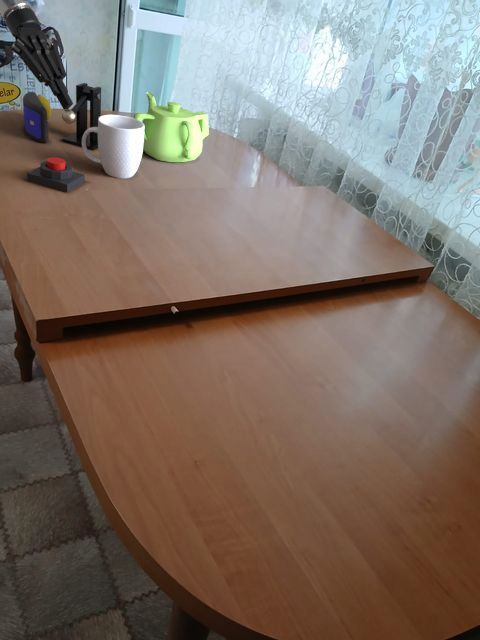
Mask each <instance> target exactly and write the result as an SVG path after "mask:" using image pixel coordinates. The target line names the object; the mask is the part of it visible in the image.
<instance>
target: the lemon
mask: <svg viewBox="0 0 480 640" xmlns="http://www.w3.org/2000/svg"><path fill="white" fill-rule="evenodd" d="M37 96H38V98H39V99H40V101H41V102H42V104H43V105H44V107H45V108H46V111H47V121H48V120H49V119H50V117H51V115H52V107H51V104H50V101H49V100H48V99H47V98H46V97H45V96H44V95H42V94H40V93H39V94H37Z"/></svg>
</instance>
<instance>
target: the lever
mask: <svg viewBox="0 0 480 640" xmlns="http://www.w3.org/2000/svg"><path fill="white" fill-rule="evenodd" d="M92 88H95V87H93V86H90V85H88V86H86V87H85V88H84V89H83V90H82V95H83V96H82V97H81V99H80V100H79V101H78V102H77V103H76V102H75V105H74V106H73V107H72V108H71V109H65V110H63V112H62V114H61V119H62V120H63V122H64V123H65V124H68V125H72V124H74V123H76V113H77V112H78V110H79V109H80V108H81V107H82V106H83V104H84V103H85V102H86V101H87V100H88V102H90V89H92Z"/></svg>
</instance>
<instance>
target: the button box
mask: <svg viewBox="0 0 480 640" xmlns="http://www.w3.org/2000/svg"><path fill="white" fill-rule="evenodd" d="M65 168H66V169H64V170H52V169H49V168H47V160H45V161H42V162H40V164H39V166H38V167H36V168H34V169H32V170H30V171H28V172H26V180H27V182H30V183H33V184H37V185H40V186H43V187H48V188H51V189H55V190H57V191H60V192H64V193H70V192H71V191H73V190H74V189H76V188H77V187H79V186H81V185H83V184H85V182H86V175H85V174H83V173H80V172H78V171H73V166H72V165H71V164H69V163H68V162H65Z"/></svg>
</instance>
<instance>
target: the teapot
mask: <svg viewBox="0 0 480 640" xmlns="http://www.w3.org/2000/svg"><path fill="white" fill-rule="evenodd" d="M145 95H146V97H147V100H148V108H147V112H146V113H144V112H137V113H135V114H134V115H133V118H134V119H137V120H139V121H141V122H142V123H143V124H144V143H143V152H144V153H145V154H146V155H148V156H150V157H151V158H153V159H155V160H158V161H161V162H167V163H186V162H191V161H194V160H196V159H197V158H199V156H200V155H201V154H202V152H203V140H204V139H206V138H207V137H208V136H209V135H210V130H209V115H208V113H206V112H205V111H194V112H191V110H188V109H186V108H184V107H181V105H182V104H180V103H179V102H176V101H168V102H167V105H157V100H156V98H155V96H154V94H152V93H151V92H149V91H146V92H145Z"/></svg>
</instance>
